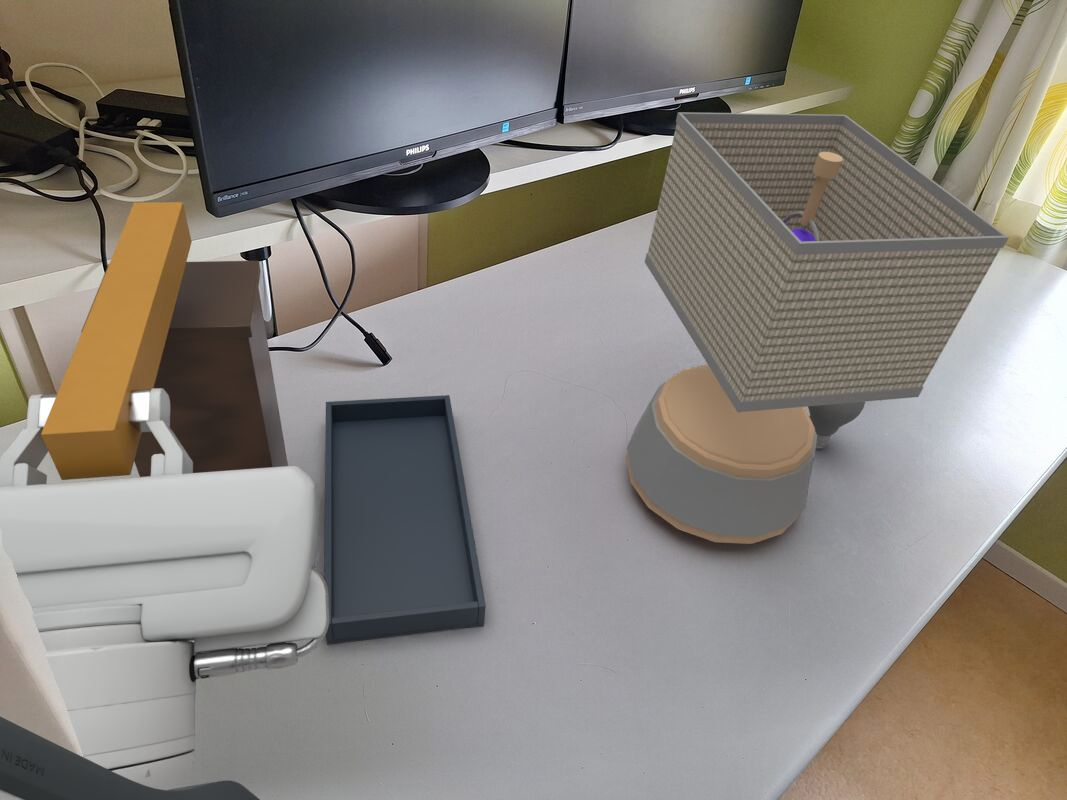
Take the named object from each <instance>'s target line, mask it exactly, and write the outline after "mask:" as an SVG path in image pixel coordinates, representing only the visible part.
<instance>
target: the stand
mask: <svg viewBox="0 0 1067 800" xmlns="http://www.w3.org/2000/svg"><path fill="white" fill-rule="evenodd" d="M109 264H110V262H109V263H108V264H107V266H106V269H105V271H104V274H103V277H102V279H101V282H100V284H99V287H98V288H97V292H96V294H95V297H94V299H93V302H92V304H91V306H90V309H89V311H88V314H87V317H86V319H85V321H84V323H83V326H82V328H81V333H82V331H83V328H84V326H85V323H86V321H87V318H88V316H89V313H90V311H91V308H92V306H93V303H94V301H95V298H96V296H97V293H98V291H99V288H100V286H101V283H102V281H103V278H104V276H105V274H106V271H107V269H108V266H109ZM260 279H261V266H260V260H218V261H217V260H213V261H187V262H186V265H185V269H184V273H183V277H182V281H181V284H180V288H179V292H178V296H177V300H176V303H175V307H174V311H173V315H172V319H171V323H170V326H169V330H168V334H167V338H166V342H165V345H164V349H163V353H162V357H161V361H160V364H159V368H158V372H157V376H156V380H155V384H154V387H153V388H163V389H164V390H165V392H166V393H167V394H168V395H169V399H170V429H171V430H172V431H173V433H174V434H175V436H176V437H177V439H178V440H179V442H180V443H181V445H182V446H183V448H184V449H185V451H186V452H187V454H188V456H189V457H190V459H191V460H192V462H193V473H202V472H215V471H229V470H242V469H256V468H270V467H283V466H289V464H288V458H287V451H286V446H285V439H284V434H283V427H282V422H281V420H282V419H281V414H280V410H279V409H280V408H279V402H278V398H277V397H278V396H277V389H276V385H275V384H276V383H275V379H274V378H275V377H274V372H273V367H272V366H273V365H272V360H271V355H270V348H269V343H268V336H267V330H266V326H265V325H266V324H265V318H264V312H263V305H262V299H261V295H260V289H259V288H260ZM154 454H163V455H164V456H165V452H164V450H163V449H162V447H161V446H160V444H159V443H158V441H157V439H156V438H155V436H154V435H153V433H152V432H142V433H141V437H140V441H139V445H138V448H137V452H136V456H135V460H134V465H135V467H136V470H137V473H138V477H147V476H151V459H152V456H153V455H154Z"/></svg>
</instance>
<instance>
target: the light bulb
mask: <svg viewBox="0 0 1067 800" xmlns="http://www.w3.org/2000/svg"><path fill="white" fill-rule="evenodd" d="M865 405H866V402H854V403H842V404H830V405H819V406H807V407H808V414H809V416H810V419H811V421H812V423H813V425H814V428H815V432H816V434H817V440H816V447H815V449H824V448H826V447H827V445H828V443H829V441H830V439H831V438H832V436H833V435H834V434H835V433H837V432H838V430H839V429H840V428H841V427H843V426H845V425H847V424H849V423H851V422H853V421H854V420H856V419H857V418H858V417H859V415H860V414H861V413H862V412H863V410H864V408H865Z"/></svg>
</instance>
